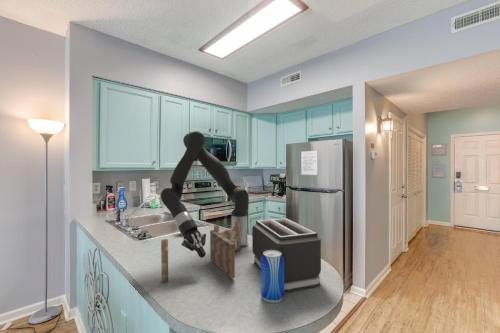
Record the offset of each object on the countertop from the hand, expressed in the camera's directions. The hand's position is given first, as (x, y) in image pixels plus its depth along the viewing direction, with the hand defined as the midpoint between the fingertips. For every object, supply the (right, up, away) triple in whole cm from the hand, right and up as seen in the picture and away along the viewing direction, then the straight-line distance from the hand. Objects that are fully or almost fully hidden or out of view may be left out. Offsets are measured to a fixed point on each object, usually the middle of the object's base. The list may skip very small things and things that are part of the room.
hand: (203, 256), depth 102 cm
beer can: (+28, -9, -17) cm, 34 cm away
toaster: (+35, -8, +5) cm, 36 cm away
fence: (-1, -8, +13) cm, 15 cm away
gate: (+7, -7, +6) cm, 12 cm away
